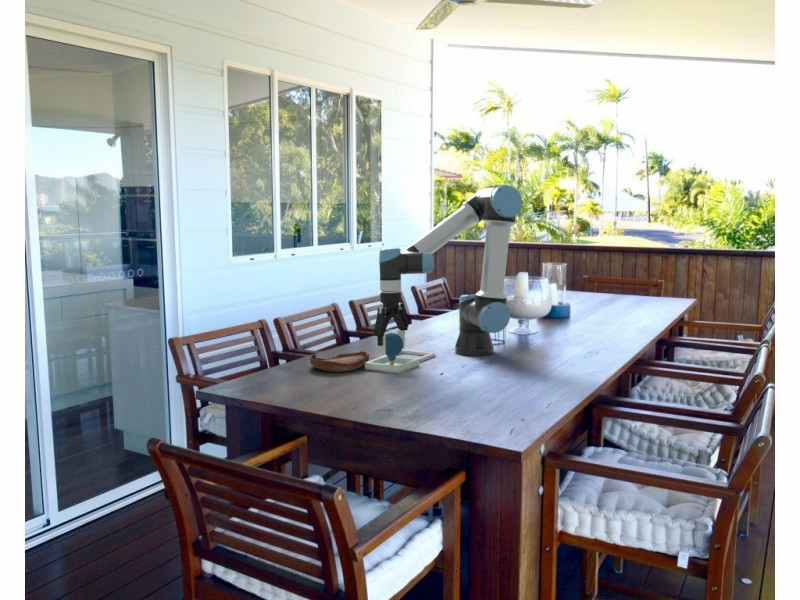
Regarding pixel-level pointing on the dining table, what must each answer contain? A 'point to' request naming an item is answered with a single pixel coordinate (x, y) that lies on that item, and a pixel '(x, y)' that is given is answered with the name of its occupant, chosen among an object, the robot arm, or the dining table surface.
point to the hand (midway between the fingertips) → (391, 351)
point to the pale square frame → (425, 354)
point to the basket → (341, 362)
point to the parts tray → (398, 367)
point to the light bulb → (393, 346)
